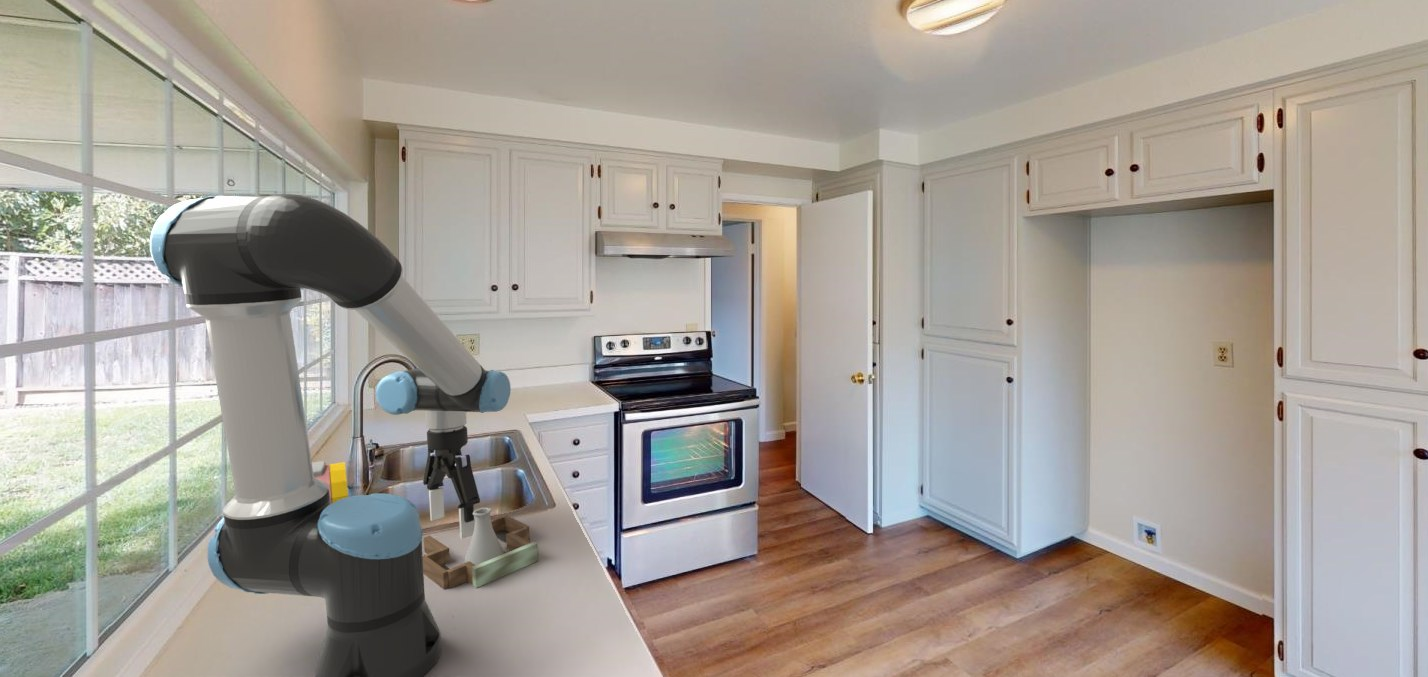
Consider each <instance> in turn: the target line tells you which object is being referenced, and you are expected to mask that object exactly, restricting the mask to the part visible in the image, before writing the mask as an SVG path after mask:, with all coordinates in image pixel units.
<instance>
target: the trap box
mask: <svg viewBox="0 0 1428 677" xmlns="http://www.w3.org/2000/svg"><path fill="white" fill-rule="evenodd" d="M490 520H491V524H492V527H493V530H494V532H495V534H496V536H497V539H498V540H500V542H503V543H504V544H505V546H506V547H505V548H506V549H507V550H508V552H505V554H502V555H500V556H498V557H495V558H493V559H490V560H488V561H485V562H483V563H480V564H478V565H475V564H473V563H472V562H470V561H469V562H466V563H464V564H463V563H461V564H459V565H457V566H454V567H450V568H449V567H448V566H447V565H448V564H451V556H450V555H451V554H450V547H448V546H447V545H445V544H443V543H442V542H440V541H439V540H438V539H436V538H434V536H433V537H432V536H431V535H427V536H424V537H423V549H424V551H423V552H424V553H425V554H424V555H423V575H424V576H426V577H427V578H428V579H429V580H431V581H432V582H434V583H435V584H436V585H437V586H439V587H440V588H442V590H446V589H448V588H449V589H451V588H454V587H457V586H459V585H461V584H463V583H466V582H467V583H468V584H470V585H471V586H473V587H474V588H476V589H477V588H479V587H482V586H484V585H486V584H489V583H490V582H493V581H495V580H496V581H497V580H498V579H500V578H502V577H504V576H507V575H509V574H511V573H513V572H516V571H518V570H520V569H522V568H523V569H524V568H525V567H527V566H530V565H532V564H535V563H537V562H539V549H538V548H539V547H538V543H537V542H536V541H532V542H531V541H530V540H531V536H530V525H527V524H525V523H523V522H521V521H519V520H517V519H515V518H513V517H511V516H508V514H507V515H504V516H503V515H500V516H498V517H495V518H492V519H490Z"/></svg>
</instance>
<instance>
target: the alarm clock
mask: <svg viewBox="0 0 1428 677" xmlns="http://www.w3.org/2000/svg"><path fill="white" fill-rule="evenodd" d="M312 468H313V475H314V477H315V478H317V479H319V480H321V481H324V482H325V483H327V484H328V488H329V495H330V501H331V504H332V503H334V502H336V501H338V500H340V499H343V498H347V497H349V492H348V489H349V488H348V480H347V479H348V478H347V469H346V462H345V461H343V462H336V463H330V464H327V463H326V461H324V460H319V461H315V462H313V461H312Z"/></svg>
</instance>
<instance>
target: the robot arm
mask: <svg viewBox="0 0 1428 677" xmlns="http://www.w3.org/2000/svg"><path fill="white" fill-rule="evenodd" d="M149 252H150V255H151V259H152V260H153V263H154V264H155V267H156V268H157V270H159V272H160V273H161V274H162V275H165V276H166V277H167V279H168V280H169V281H170V282H172V283H173V284H176V285H177V286H179V287H182V289H183V294H184V300H185V304H186V308H188V309H190V310H192V311H193V312H195V313H196V314H198V315H200V316H201V317H202V318H203V319H205V324H206V325H205V326H206V329H207V330H206V331H207V335H208V341H209V342H208V343H209V347H210V353H211V359H212V364H213V371H214V376H215V382H216V388H217V393H218V394H217V395H218V399H219V405H220V411H221V417H222V422H223V428H224V435H225V440H226V448H227V453H228V458H229V464H230V470H231V475H232V482H233V487H234V493H235V495H234V496H233V497H232V498H231V499H229V500H230V501H229V502H227V504H226V505H225V506H224V507H223V509H222V510H223V511H222V512H223V517H222V518H221V519H220V520H219V521H218V523H217V524H216V526H215V527H214V529H213V531H214V532H215V534H214V535H213V536H212V537H210V538H209V541H208V544H207V552H206V553H207V554H206V556H207V557H206V558H207V562H208V566H209V569H210V571H211V573H212V575H213V576H214V577H215V579H216V580H217V581H219V582H220V583H221V584H223V585H224V586H226V587H228V588H230V589H234V590H239V591H243V592H246V593H254V594H255V595H256V594H257V595H262V594H263V595H266V594H279V595H287V596H288V595H289V596H301V597H316V598H317V597H318V598H324V599H325V608H326V609H325V610H326V621H327V628H326V632H325V635H324V639H323V641H322V646H321V649H320V653H319V654H318V659H317V662H316V666H315V672H314V673H315V674H314V677H424V676H425V675H427V673H428V672H429V671H431V669H432V668H434V666H435V665H436V663H437V662H438V660H439V659H440V656H441V654H442V649H443V648H442V635H441V630H440V628H439V625H438V623H437V622H436V620H435V618H434V617H435V616H433V613H432V611H431V609H430V607H429V605H428V603H427V600H426V594H425V580H424V578H425V575H424V574H423V556H424V555H423V541H422V540H423V529H422V525H421V522H420V514H419V511H418V507H417V506H416V504H414V503H413V502H412V501H411V500H410V499H407V498H406V497H404V496H400V495H397V494H390V493H370V494H368V495H366V494H358V495H352V496H348V497H347V498H343V499H340V500H338V501H336V502H334V503H332V504H331V501H330V495H329V488H328V484H327V483H325V482H324V481H321V480H319V479H317V478H315V477H314V475H313V468H312V463H313V461H312V455H311V449H310V442H309V441H310V440H309V435H308V434H309V433H308V430H307V428H308V427H307V421H306V415H305V407H304V400H303V394H302V393H303V392H302V387H301V380H300V379H301V378H300V374H299V367H298V359H297V354H296V346H295V340H294V332H293V326H292V324H293V323H292V319H291V318H292V317H291V312H292V310H293V309H294V308H295V307H296V306H297V305H298V304H299V303H300V302H301V301H302V290H301V289H306V290H311V291H314V292H318V293H321V294H323V295H325V296H327V297H328V298H329V299H330V300H332V301H333V303H335V305H337V306H339V307H340V308H342V309H346V310H354V311H356V312H357V313H358V314H359V315H360V316H361V317H362V318H363V319H365V320H366V322H367V323H369V324H370V325H371V327H373V328H374V329H375V330H376V331H377V332H378V333H380V335H382V337H384V338H385V339H386V340H387V341H388V342H389V343H391V345H392V346H393V347H395V349H396V350H398V352H400V353H401V354H402V355H403V356H404V357H405V358H406V359H407V360H409V361H410V363H412V364H413V365H414V366H415V367H417V368H412V369H408V370H398V371H396V372H394V373H390V374H388V375H386V376H384V377H383V378H381V379H380V380H379V381H378V383H377V385H376V389H375V396H376V398H375V399H376V401H377V403H378V405H379V407H380V408H381V409H382V410H383V411H384V412H386V413H388V414H390V415H393V416H398V415H402V414H406V415H407V414H410V413H411V412H415V411H424V412H425V414H424V415H425V428H427V429H428V430H427V431H426V442H427V459H426V465H425V469H424V470H425V471H424V476H423V480H422V482H423V483H422V484H423V485H424V486H426V487H427V488H426V489H427V490H428V500H429V516H430V522H433V521H436V520H440V519H443V518H445V517H446V516H445V499H444V486H445V484H444V479H445V477H446V476H447V478H448V479H451V482H452V484H453V485H452V486H453V488H454V490H455V493H456V496H457V499H458V501H459V505H458V506H457V509H458V520H459V539H461V540H463V539H466V538H468V537H472V535H473V532H474V525H475V516H474V515H473V512H474V511H475V505H477V504H479V503H481V499H480V494H479V491H478V486H477V483H476V479H475V475H474V472H473V468H472V464H471V463H472V462H471V456H470V455H469V454H465V455H462V448H463V447H465V446H466V445H467V444H468V442H469V439H468V428H467V426H466V424H467V413H468V412H470V413H481V414H484V413H494V412H501V411H502V410H503V409H504V408H506V406H507V405H508V402H509V400H510V397H511V390H512V389H511V382H510V379H509V376H508V375H507V374H506V373H505V372H502V371H500V370H495V369H490V370H486V369H485V368H484V367H483V366H482V365H481V364H480V362H478V360H477V359H476V358H475V357H474V356H473V354H472V353H470V351H469V350H468V349H467V348H466V347H465V346H464V344H462V342H461V341H460V340H459V339H458V338H457V337H456V335H455V334H454V333H453V332H452V331H451V330H450V328H449V327H448V326H447V325H446V324H445V323H444V322H443V320H441V318H440V317H439V316H438V315H437V314H436V313H435V312H434V310H433V309H432V308H431V307H430V306H429V305H428V304H427V303H426V301H424V299H423V298H422V297H421V295H420V294H418V292H417V291H416V290H415V289H414V288H413V287H412V286H411V284H410V283H409V282H408V280H406V279H405V278H404V276H403V272H404V268H403V265H402V263H401V261H399V259H398V258H397V257H396V256H395V255H394V253H393V252H392V251H391V250H390V249H389V248H388V247H387V246H386V245H385V244H384V243H383V242H382V241H381V240H380V239H379V238H378V237H377V236H376V235H375V234H373V232H371V231H370V230H368V228H366V227H365V226H363V225H362V224H361V223H360V222H358V221H357V220H355V219H354V218H352V217H351V216H349V215H348V214H346V213H344V212H343V211H341V210H339V209H338V208H336V207H334V206H332V205H330V204H327V203H325V202H323V201H320V200H319V199H315V198H313V197H309V196H305V195H301V194H300V195H299V194H291V193H287V194H286V193H281V194H280V193H279V194H272V195H270V194H269V195H267V194H266V195H265V194H264V195H209V196H206V197H201V198H193V199H187V200H183V201H180V202H178V203H175V204H173V205H172V206H170V207H169V208H168V209H167V210H165V212H163V213H162V214H161V215H160V216H159V217H158V218H157V219H156V221H155V223H154V224H153V227H152V230H151V233H150V237H149Z"/></svg>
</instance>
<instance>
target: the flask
mask: <svg viewBox="0 0 1428 677" xmlns="http://www.w3.org/2000/svg"><path fill="white" fill-rule="evenodd" d="M492 511H493V510H492V508H491V507H479V508H477V509H474V512H473V515H474V521H475V525H474V532H473V535H472V536H471V538H470V542H469V545H468V548H467V551H466V554H465V556H464V560H463V563H462V564H464V563H466V562H469V561H470V562H472V563H473V564H475V565H478V564H480V563H483V562H485V561H488V560H490V559H493V558H495V557H498V556H500V555H502V554H505V553H506V552H505V550H504V548H503V547H502V545H501V543H500V541H499V539H498V538H497V536H496V534H495V532H494V530H493V527H492V524H491V520H492V519H491V513H492Z"/></svg>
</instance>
